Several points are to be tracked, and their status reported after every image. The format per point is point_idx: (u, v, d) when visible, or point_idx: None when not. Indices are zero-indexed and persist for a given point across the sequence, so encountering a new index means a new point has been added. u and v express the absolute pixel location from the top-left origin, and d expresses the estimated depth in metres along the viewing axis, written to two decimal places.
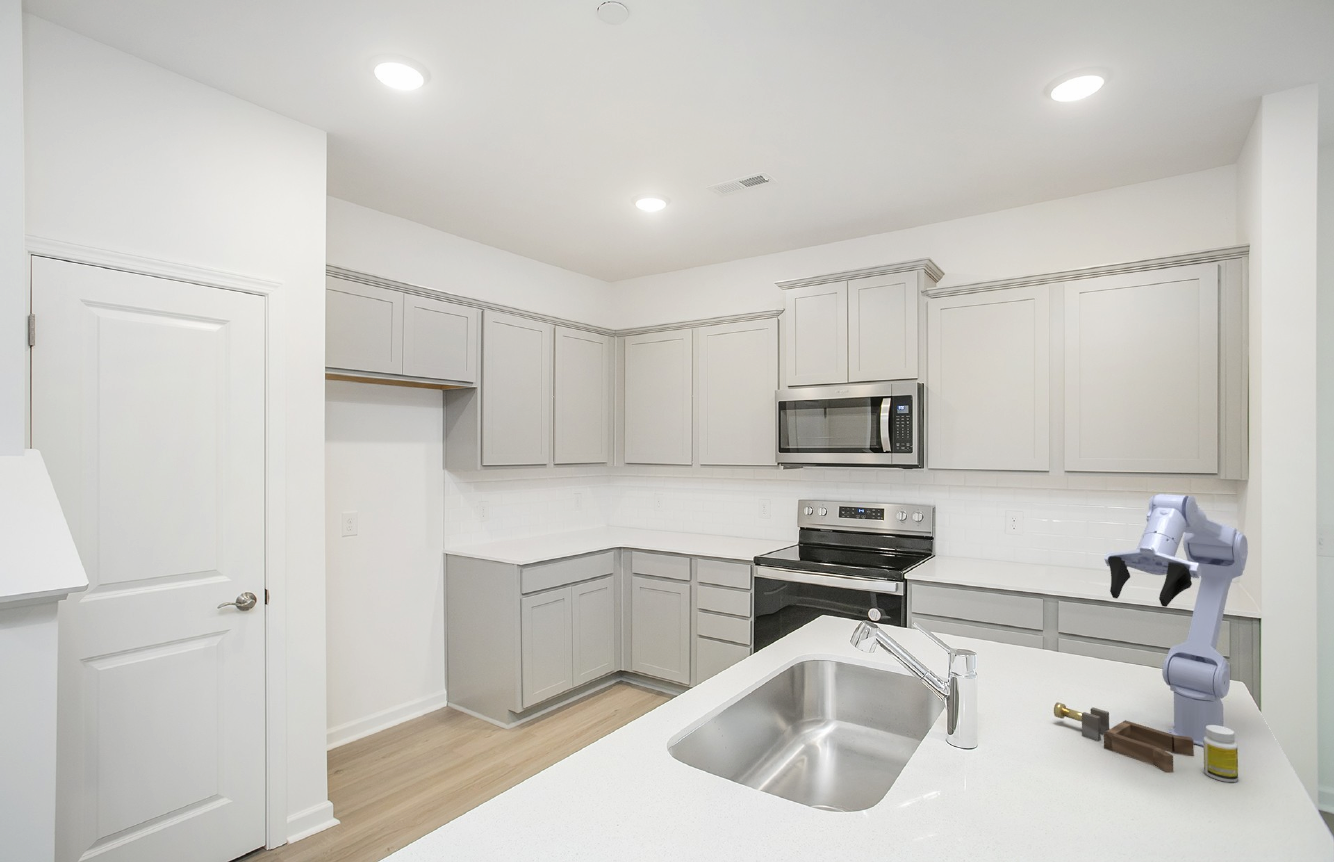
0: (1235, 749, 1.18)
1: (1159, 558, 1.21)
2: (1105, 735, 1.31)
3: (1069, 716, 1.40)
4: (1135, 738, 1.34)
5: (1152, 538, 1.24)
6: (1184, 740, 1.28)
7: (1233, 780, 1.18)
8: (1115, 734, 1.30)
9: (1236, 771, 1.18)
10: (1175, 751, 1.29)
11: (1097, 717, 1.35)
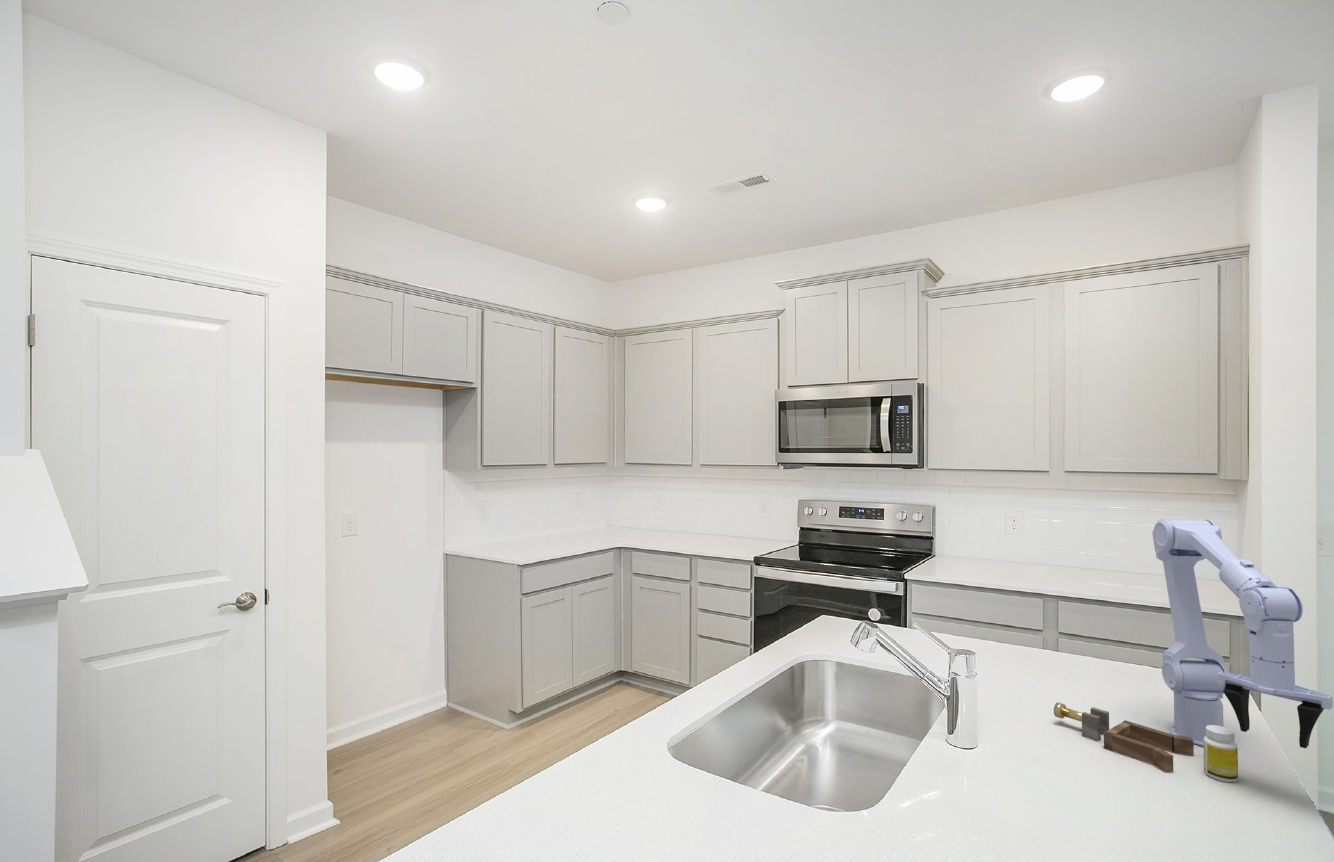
0: (1235, 749, 1.18)
1: None
2: (1105, 735, 1.31)
3: (1069, 716, 1.40)
4: (1135, 738, 1.34)
5: (1266, 669, 1.12)
6: (1184, 740, 1.28)
7: (1233, 780, 1.18)
8: (1115, 734, 1.30)
9: (1236, 771, 1.18)
10: (1175, 751, 1.29)
11: (1097, 717, 1.35)
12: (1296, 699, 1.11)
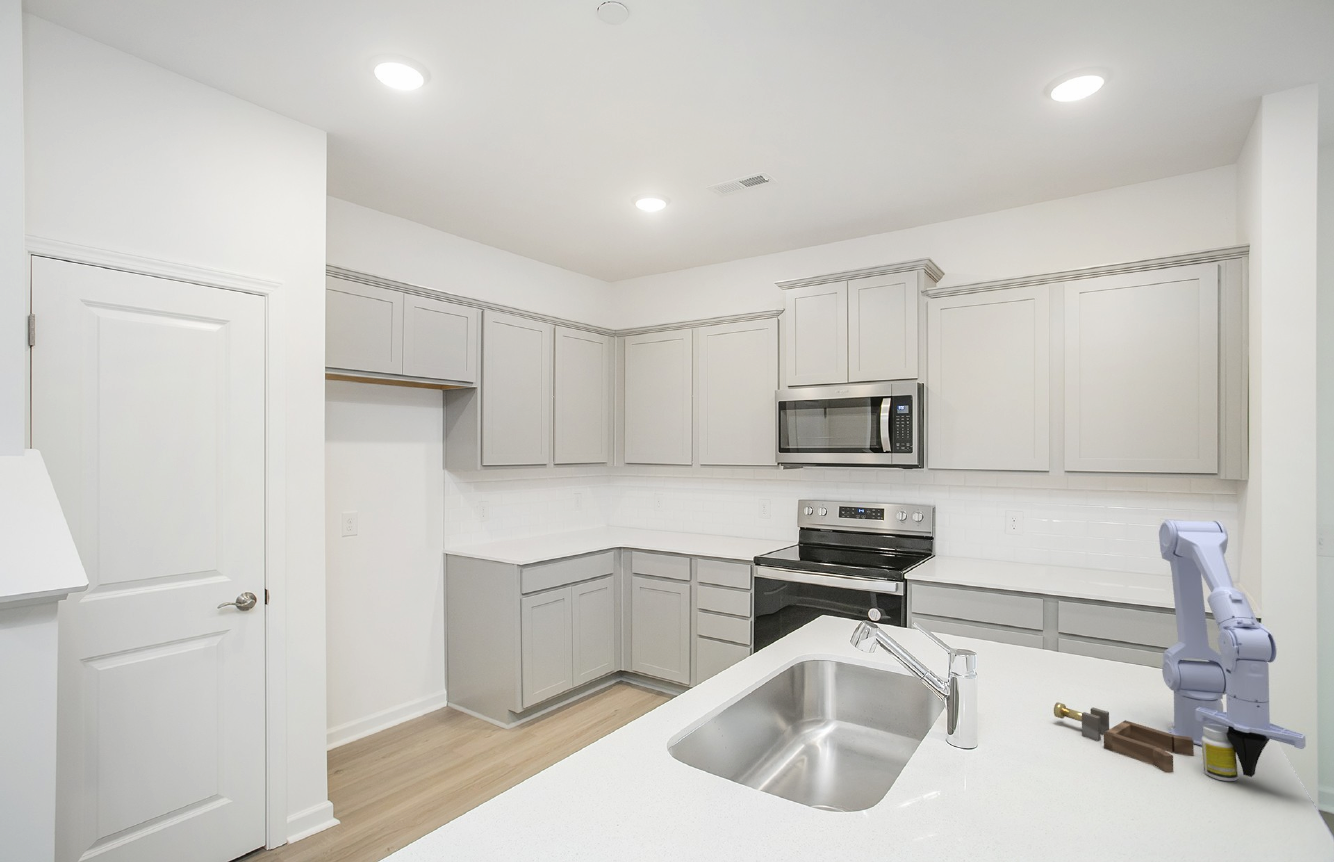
0: (1233, 747, 1.18)
1: None
2: (1105, 735, 1.31)
3: (1069, 716, 1.40)
4: (1135, 738, 1.34)
5: (1241, 707, 1.15)
6: (1184, 740, 1.28)
7: (1233, 779, 1.18)
8: (1115, 734, 1.30)
9: (1235, 770, 1.18)
10: (1175, 751, 1.29)
11: (1097, 717, 1.35)
12: (1270, 737, 1.14)
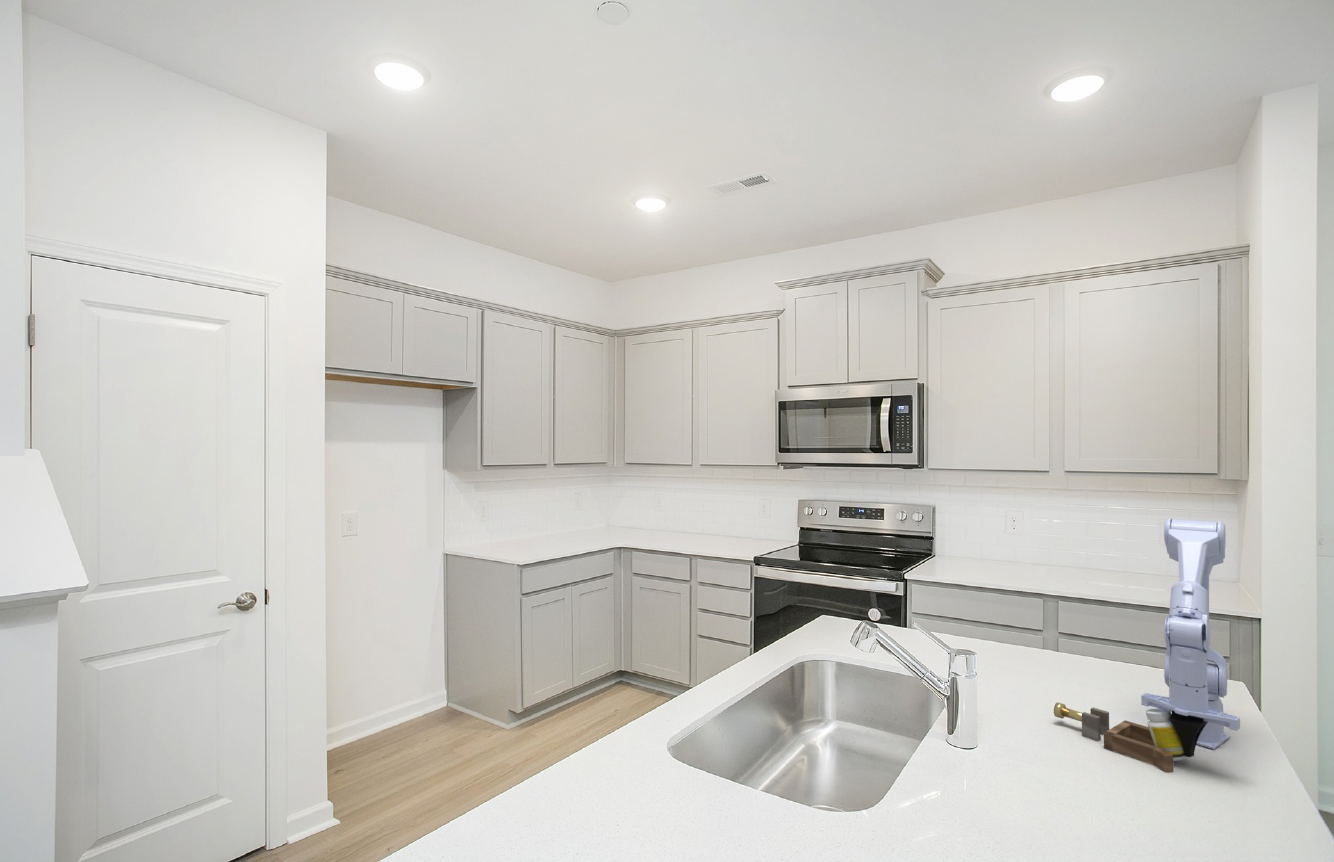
0: None
1: None
2: (1105, 735, 1.31)
3: (1069, 716, 1.40)
4: (1135, 738, 1.34)
5: (1181, 692, 1.22)
6: None
7: (1184, 757, 1.23)
8: (1115, 734, 1.30)
9: None
10: None
11: (1097, 717, 1.35)
12: (1208, 720, 1.21)
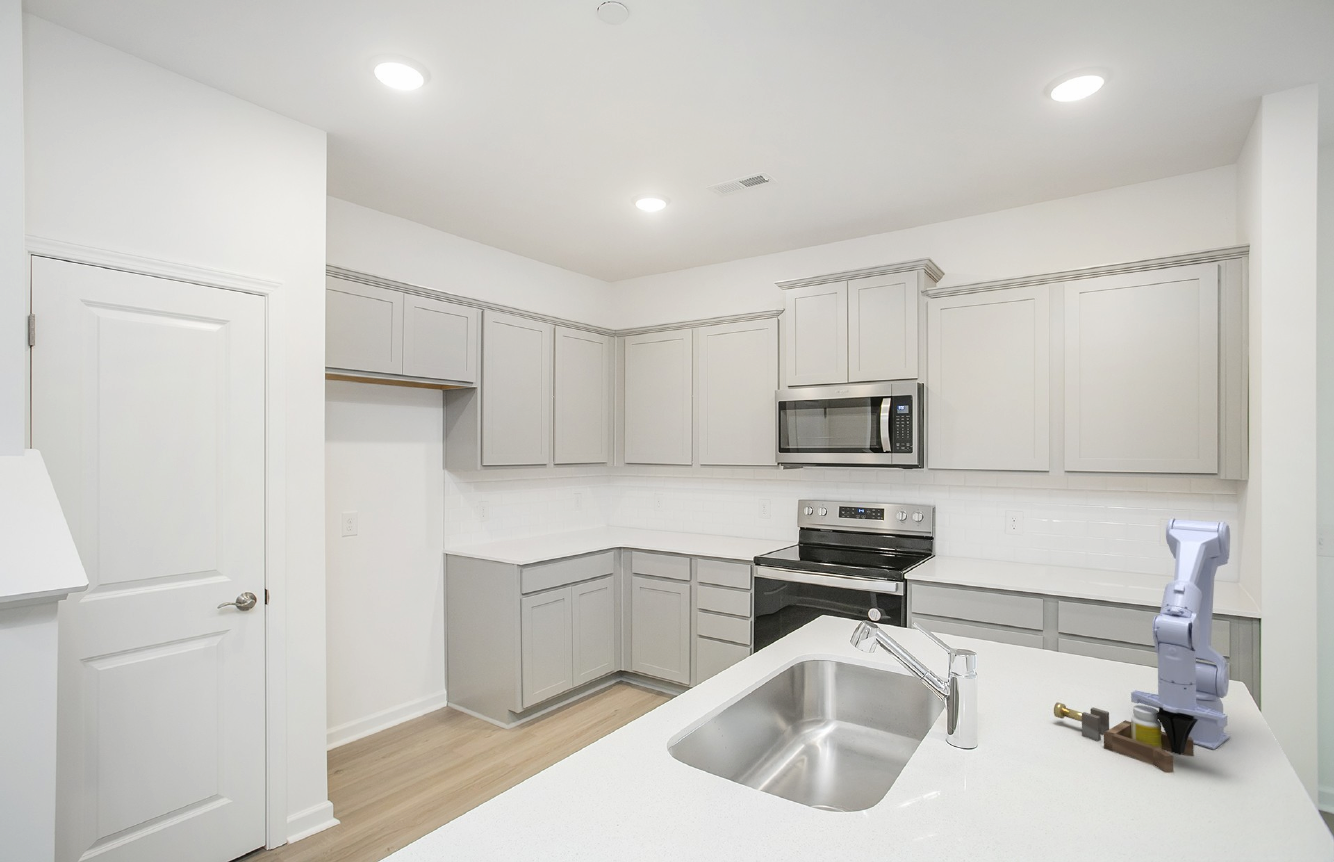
0: (1159, 727, 1.27)
1: None
2: (1105, 735, 1.31)
3: (1069, 716, 1.40)
4: None
5: (1170, 689, 1.24)
6: None
7: None
8: (1115, 734, 1.30)
9: (1160, 747, 1.27)
10: None
11: (1097, 717, 1.35)
12: (1196, 717, 1.23)
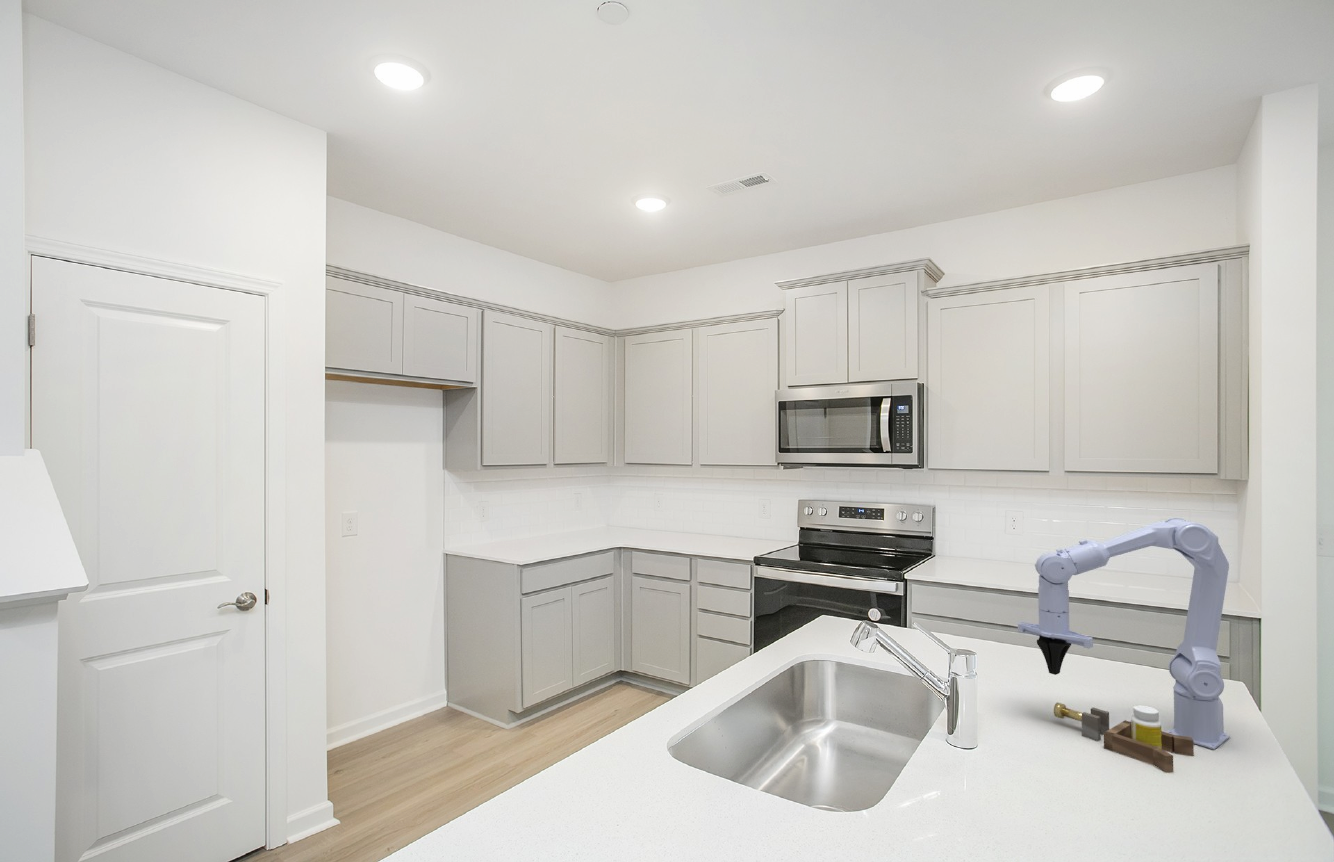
0: (1160, 727, 1.27)
1: (1058, 637, 1.41)
2: (1105, 735, 1.31)
3: (1069, 716, 1.40)
4: None
5: (1046, 618, 1.42)
6: (1184, 740, 1.28)
7: None
8: (1115, 734, 1.30)
9: (1160, 747, 1.27)
10: (1175, 751, 1.29)
11: (1097, 717, 1.35)
12: (1068, 641, 1.41)
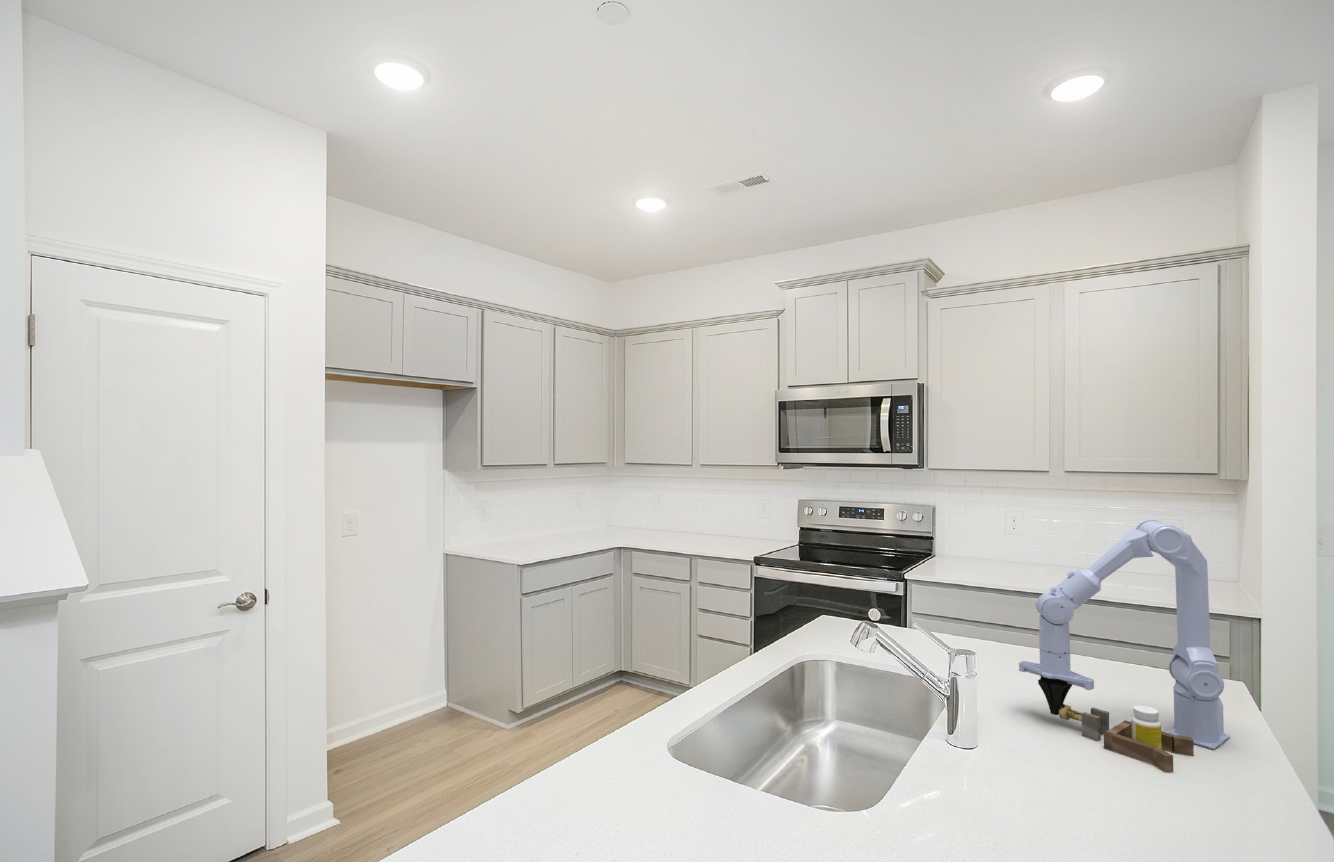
0: (1160, 727, 1.27)
1: None
2: (1105, 735, 1.31)
3: (1074, 718, 1.39)
4: None
5: (1047, 658, 1.42)
6: (1184, 740, 1.28)
7: None
8: (1115, 734, 1.30)
9: (1160, 747, 1.27)
10: (1175, 751, 1.29)
11: (1097, 717, 1.35)
12: (1069, 682, 1.40)
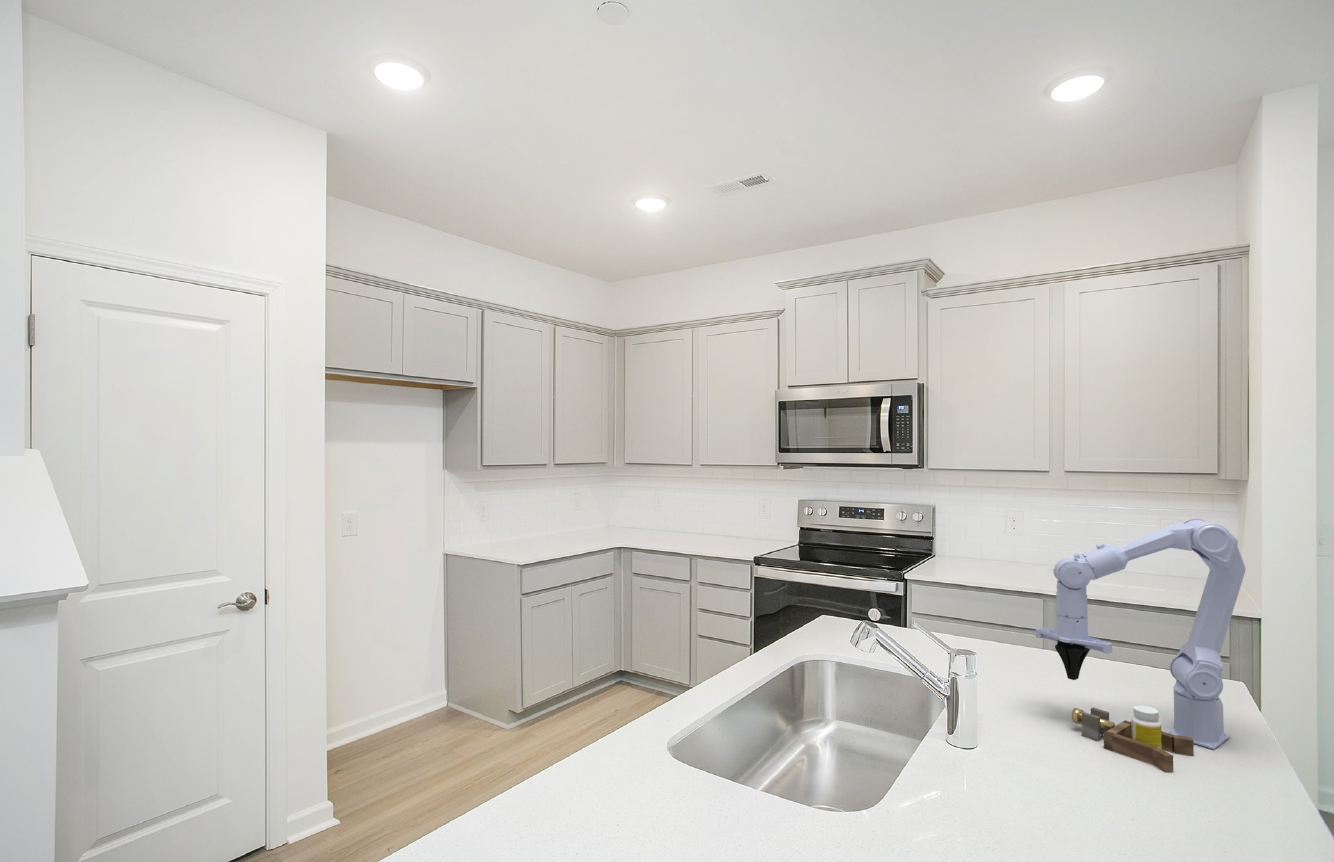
0: (1160, 727, 1.27)
1: None
2: (1105, 735, 1.31)
3: None
4: None
5: (1065, 623, 1.42)
6: (1184, 740, 1.28)
7: None
8: (1115, 734, 1.30)
9: (1160, 747, 1.27)
10: (1175, 751, 1.29)
11: (1097, 717, 1.35)
12: (1087, 647, 1.40)
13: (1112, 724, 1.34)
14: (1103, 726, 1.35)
